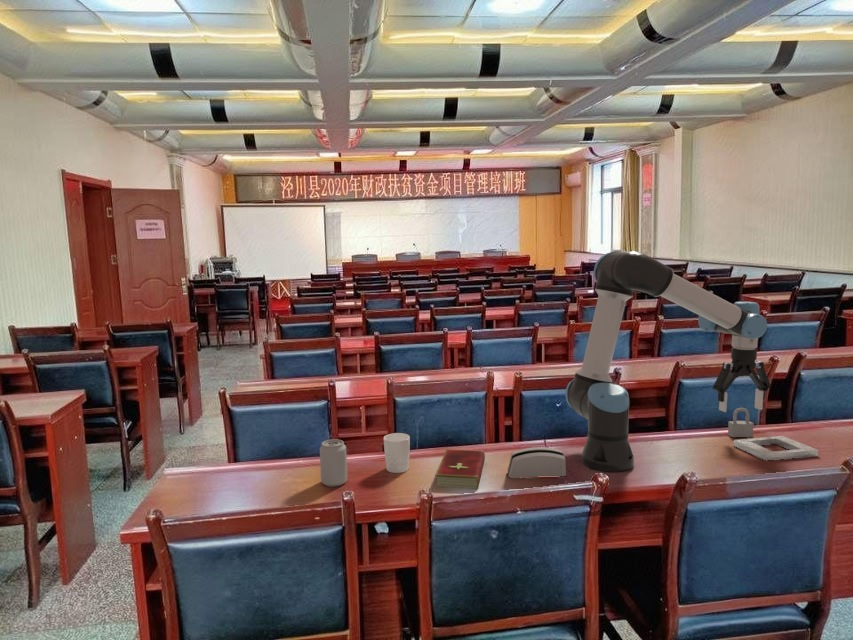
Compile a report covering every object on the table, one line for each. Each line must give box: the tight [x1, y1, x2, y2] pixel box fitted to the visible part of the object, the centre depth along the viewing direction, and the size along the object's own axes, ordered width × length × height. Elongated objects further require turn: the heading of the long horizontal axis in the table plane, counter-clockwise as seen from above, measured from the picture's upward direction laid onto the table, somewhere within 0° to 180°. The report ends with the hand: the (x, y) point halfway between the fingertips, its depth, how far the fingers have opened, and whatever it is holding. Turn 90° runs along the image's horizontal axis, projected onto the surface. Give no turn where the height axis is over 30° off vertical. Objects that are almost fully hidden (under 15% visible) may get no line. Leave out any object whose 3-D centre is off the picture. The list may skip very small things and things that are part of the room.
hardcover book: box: [435, 448, 486, 489], centre depth 169 cm, size 12×21×4 cm, turn 169°
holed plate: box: [732, 435, 819, 462], centre depth 181 cm, size 18×14×2 cm
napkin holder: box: [507, 446, 567, 478], centre depth 165 cm, size 17×5×10 cm, turn 91°
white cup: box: [383, 432, 411, 474], centre depth 173 cm, size 8×8×10 cm
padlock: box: [727, 407, 754, 438], centre depth 195 cm, size 7×4×10 cm, turn 89°
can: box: [319, 438, 348, 488], centre depth 164 cm, size 8×8×12 cm
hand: (740, 409), depth 194 cm, fingers open, 13 cm apart
